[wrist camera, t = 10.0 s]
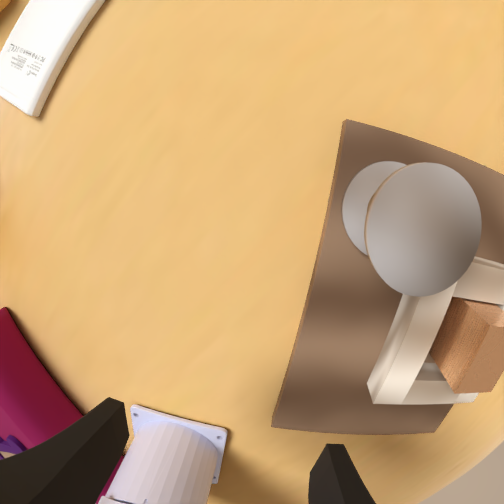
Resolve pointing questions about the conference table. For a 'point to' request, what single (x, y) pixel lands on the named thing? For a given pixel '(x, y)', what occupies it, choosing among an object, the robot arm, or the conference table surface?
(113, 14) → the conference table surface
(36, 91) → the external hard drive
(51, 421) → the book
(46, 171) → the conference table surface
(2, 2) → the rubber stamp
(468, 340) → the orange and brown block
